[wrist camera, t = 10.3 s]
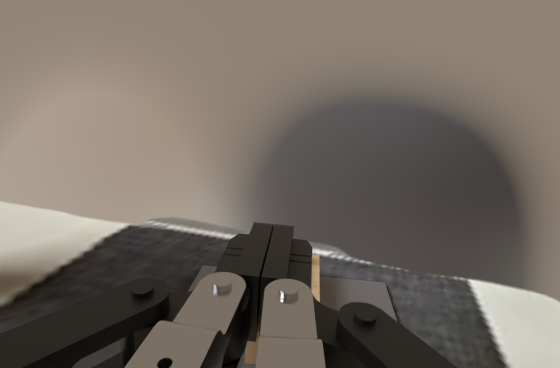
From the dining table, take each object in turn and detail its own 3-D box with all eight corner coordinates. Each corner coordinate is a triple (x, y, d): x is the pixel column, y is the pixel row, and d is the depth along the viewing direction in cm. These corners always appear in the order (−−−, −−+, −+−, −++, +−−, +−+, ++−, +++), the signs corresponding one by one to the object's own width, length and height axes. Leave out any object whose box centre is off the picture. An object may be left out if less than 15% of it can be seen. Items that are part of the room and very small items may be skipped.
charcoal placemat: (117, 418, 25) (116, 413, 25) (203, 268, 44) (202, 265, 44) (439, 461, 23) (440, 456, 23) (384, 286, 42) (384, 282, 42)
